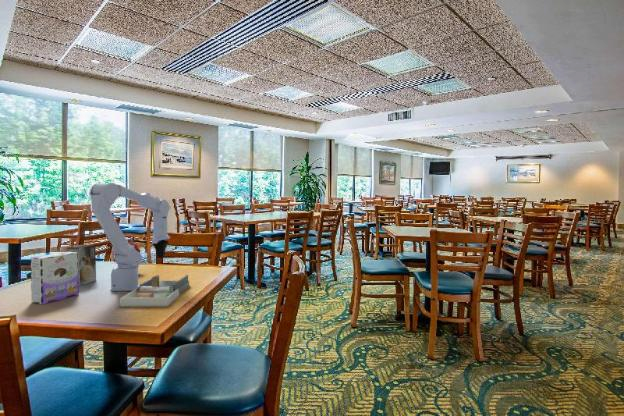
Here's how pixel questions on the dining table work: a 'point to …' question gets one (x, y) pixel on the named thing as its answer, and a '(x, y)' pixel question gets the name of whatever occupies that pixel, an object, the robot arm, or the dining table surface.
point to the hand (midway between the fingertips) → (160, 257)
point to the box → (147, 300)
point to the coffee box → (85, 263)
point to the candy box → (54, 277)
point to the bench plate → (170, 284)
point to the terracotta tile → (146, 295)
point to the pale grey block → (155, 286)
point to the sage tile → (161, 294)
